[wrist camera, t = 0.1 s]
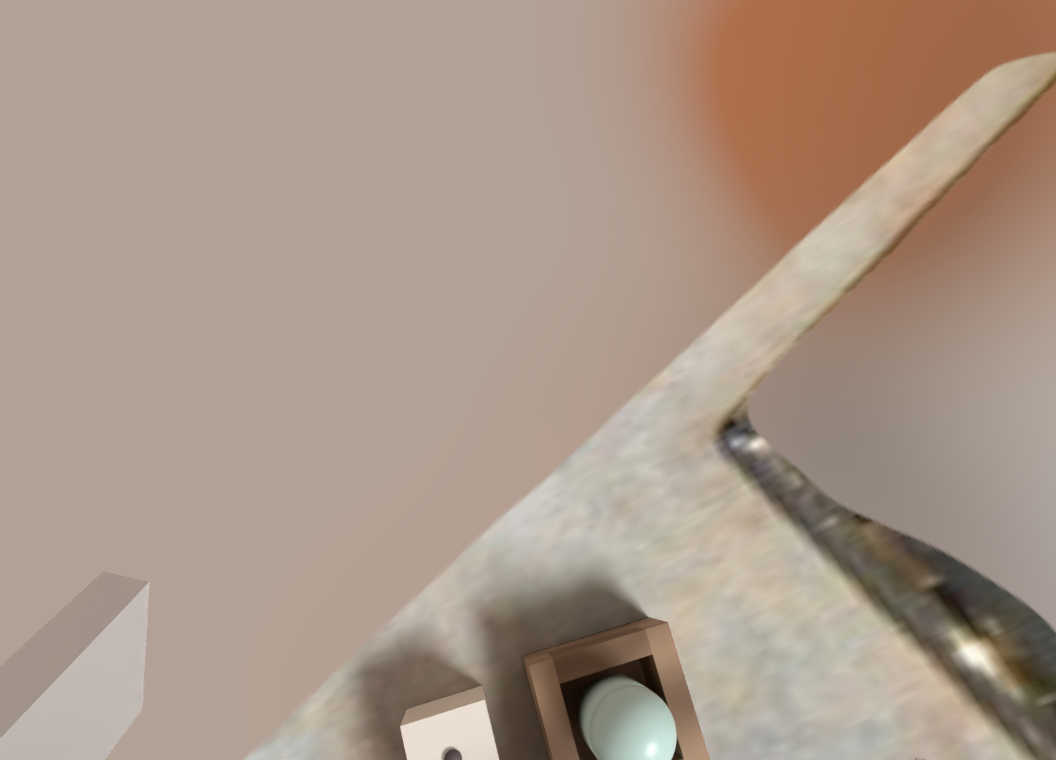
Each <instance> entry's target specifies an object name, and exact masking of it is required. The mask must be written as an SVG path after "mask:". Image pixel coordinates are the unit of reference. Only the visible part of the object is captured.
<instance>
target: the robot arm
mask: <svg viewBox="0 0 1056 760" xmlns="http://www.w3.org/2000/svg"><path fill="white" fill-rule="evenodd" d="M148 597H149V582H146V581H141V580H137V579H133V578H129V577H124V576H120V575H116V574H111V573H107V572H103V573H101V574H100V575H99V576H98V577H97V578H96V579H95V580H94V581H93V582H92V583H91V584H90V585H88V586H87V587H86V588H85V589H84V590H83V591H82V592H81V593H80V594H79V595H77V597H75V598H74V599H73V600H72V601H71V602H70V603H69V604H68V605H67V606H66V607H64V608H63V609H62V610H61V611H60V612H59V613H58V614H57V615H56V616H55V617H54V618H52V620H50V621H49V622H48V623H47V624H46V625H45V626H44V627H43V628H42V629H41V630H39V631H38V632H37V633H36V634H35V635H34V636H33V637H32V638H31V639H30V640H29V641H28V642H26V643H25V644H24V645H23V646H22V647H21V648H20V649H19V650H18V651H17V652H16V653H15V654H13V656H12V657H10V658H9V659H8V660H7V661H6V662H5V663H4V664H3V665H2V666H0V760H105V759H106V757H107V756H108V755H109V753H110V752H111V751H112V749H113V748H114V746H115V745H116V744H117V743H118V741H119V740H120V739H121V737H122V736H123V735H124V733H125V732H126V731H127V729H128V728H129V727H130V725H131V724H132V722H133V721H134V720H135V719H136V717H137V716H138V715H139V713H140V712H141V711H142V709H143V691H144V672H145V654H146V635H147V616H148ZM915 760H925V759H921V758H915Z"/></svg>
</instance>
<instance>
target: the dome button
mask: <svg viewBox="0 0 1056 760" xmlns="http://www.w3.org/2000/svg"><path fill="white" fill-rule="evenodd" d="M577 723H578V728H579V731H580V733H581V736H582V738H583V739H584V741H585V742H586V744H587V745H588V747H589V748H590V749H591V751H592V752H593V754H594V755H595V756H596V758H597V759H598V760H671V759H672V757H673V754H674V752H675V747H676V740H677V732H676V726H675V721H674V719H673V716H672V714H671V712H670V710H669V708H668V706H667V705H666V703H665V702H664V701H663V700H662V699H661V698H660V697H659V696H658V695H657V694H655V693H654V692H653V691H651V690H649V689H648V688H646V687H645V686H643V685H642V684H640V683H639V682H637V681H636V680H634V679H632V678H631V677H629V676H626V675H623V674H615V673H613V674H606V675H603V676H600V677H598V678H596V679H595V680H593V681H592V682H591V683H590V684H589V685H588V686H587V687H586V688H585V690H584V691H583V693H582V695H581V697H580V699H579V703H578V707H577Z"/></svg>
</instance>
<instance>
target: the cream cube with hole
mask: <svg viewBox="0 0 1056 760" xmlns="http://www.w3.org/2000/svg"><path fill="white" fill-rule="evenodd" d="M400 728H401V733H402V738H403V743H404V747H405V752H406V757H407V760H500V758H499V754H498V750H497V745H496V741H495V737H494V733H493V729H492V725H491V720H490V716H489V712H488V708H487V704H486V700H485V696H484V691H483V687H482V686H479V687H476V688H473V689H470V690H466V691H463V692H460V693H457V694H454V695H450V696H447V697H444V698H441V699H438V700H434V701H431V702H428V703H425V704H422V705H418V706H415V707H412V708H409V709H406V712H405V715H404V717H403V720H402V723H401V725H400Z"/></svg>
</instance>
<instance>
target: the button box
mask: <svg viewBox="0 0 1056 760" xmlns="http://www.w3.org/2000/svg"><path fill="white" fill-rule="evenodd" d="M522 657H523V661H524V665H525V669H526V673H527V677H528V681H529V685H530V689H531V693H532V696H533V700H534V704H535V708H536V712H537V716H538V720H539V724H540V728H541V732H542V736H543V739H544V743H545V747H546V751H547V755H548V759H549V760H598V759H597V758H596V756H595V755H594V754H593V752H592V751H591V749H590V748H589V747H588V745H587V744H586V742H585V741H584V739H583V738H582V736H581V733H580V731H579V728H578V723H577V707H578V703H579V699H580V697H581V695H582V693H583V691H584V690H585V688H586V687H587V686H588V685H589V684H590V683H591V682H592V681H593V680H595V679H596V678H598V677H600V676H603V675H606V674H613V673H615V674H623V675H626V676H629V677H631V678H632V679H634V680H636V681H637V682H639V683H640V684H642V685H643V686H645V687H646V688H648V689H649V690H651V691H653V692H654V693H655V694H657V695H658V696H659V697H660V698H661V699H662V700H663V701H664V702H665V703H666V705H667V706H668V708H669V710H670V712H671V714H672V716H673V719H674V721H675V726H676V732H677V740H676V747H675V752H674V754H673V757H672V759H671V760H710V758H709V755H708V752H707V749H706V745H705V742H704V739H703V736H702V732H701V729H700V726H699V723H698V719H697V716H696V713H695V710H694V706H693V703H692V700H691V697H690V693H689V690H688V687H687V684H686V680H685V677H684V674H683V670H682V667H681V664H680V661H679V657H678V654H677V651H676V648H675V644H674V641H673V638H672V635H671V631H670V628H669V625H668V622H665V621H661V620H657V619H653V618H650V617H648V618H645V619H641V620H638V621H635V622H632V623H628V624H625V625H622V626H619V627H615V628H612V629H609V630H606V631H603V632H599V633H596V634H593V635H590V636H586V637H583V638H580V639H577V640H573V641H570V642H567V643H564V644H560V645H557V646H554V647H551V648H548V649H544V650H541V651H538V652H535V653H531V654H528V655H525V656H522Z"/></svg>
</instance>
